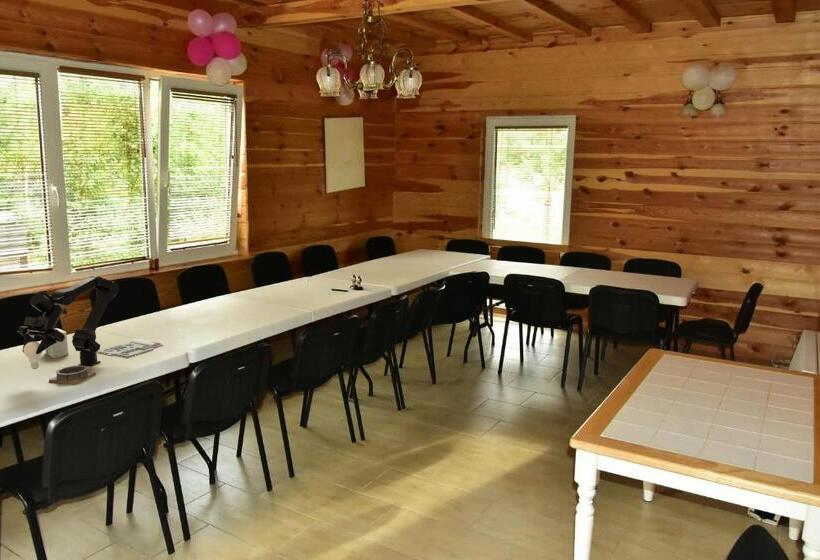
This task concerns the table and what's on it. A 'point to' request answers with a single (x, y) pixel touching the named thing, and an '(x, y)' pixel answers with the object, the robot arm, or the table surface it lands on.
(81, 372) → the bulb holder
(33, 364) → the lightbulb
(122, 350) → the grey openwork panel
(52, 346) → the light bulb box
